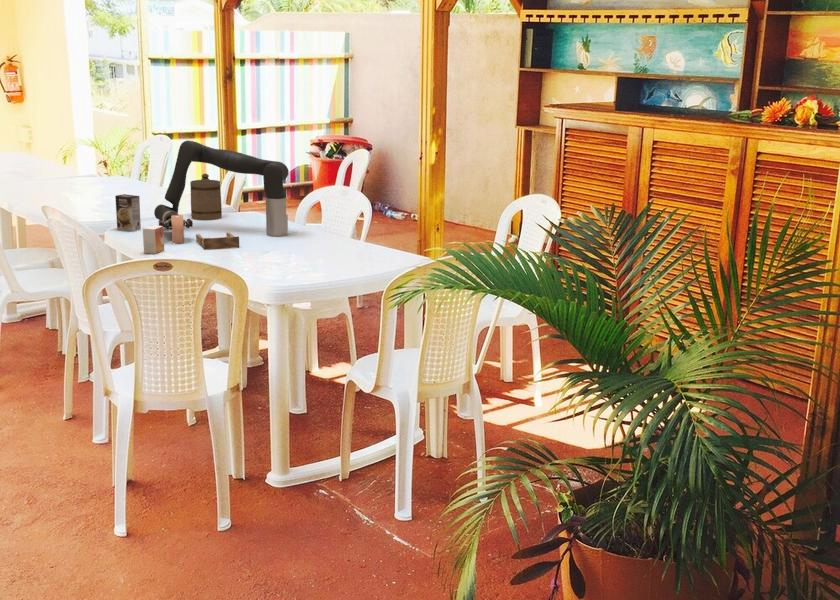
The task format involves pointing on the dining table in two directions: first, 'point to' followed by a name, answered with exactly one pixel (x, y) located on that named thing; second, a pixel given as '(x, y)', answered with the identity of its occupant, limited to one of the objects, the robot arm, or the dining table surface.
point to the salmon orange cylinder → (177, 229)
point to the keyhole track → (218, 242)
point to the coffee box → (128, 212)
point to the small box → (153, 239)
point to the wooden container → (205, 199)
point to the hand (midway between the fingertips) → (178, 226)
